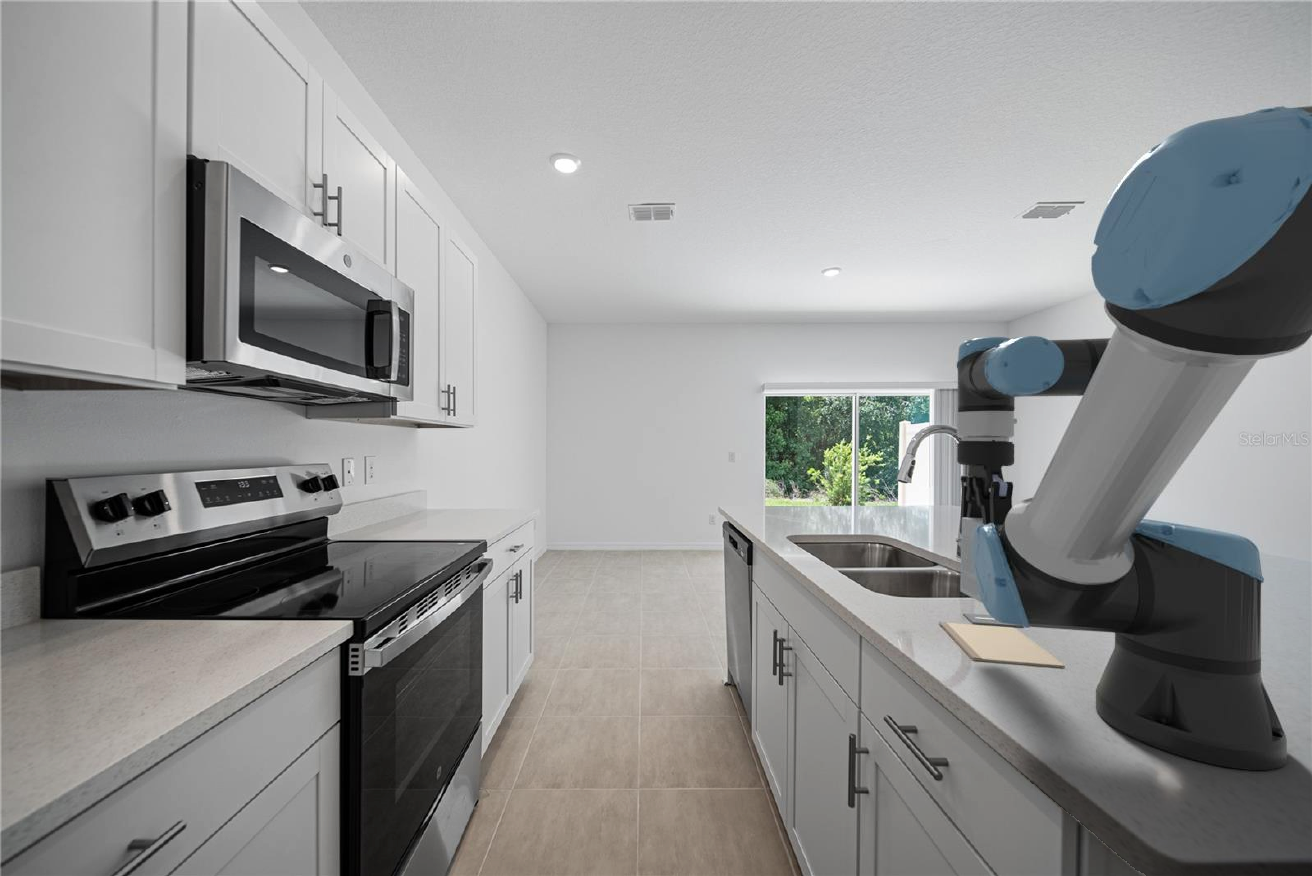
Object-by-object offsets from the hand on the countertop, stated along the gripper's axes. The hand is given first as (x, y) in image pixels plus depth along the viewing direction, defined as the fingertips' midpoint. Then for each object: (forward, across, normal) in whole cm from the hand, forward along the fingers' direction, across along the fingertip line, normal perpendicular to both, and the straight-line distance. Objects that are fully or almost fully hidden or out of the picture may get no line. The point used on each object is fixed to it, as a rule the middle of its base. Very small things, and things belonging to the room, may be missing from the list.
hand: (984, 588), depth 82 cm
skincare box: (+2, 0, 0) cm, 2 cm away
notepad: (+10, +4, -3) cm, 11 cm away
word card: (+10, +16, -7) cm, 20 cm away
